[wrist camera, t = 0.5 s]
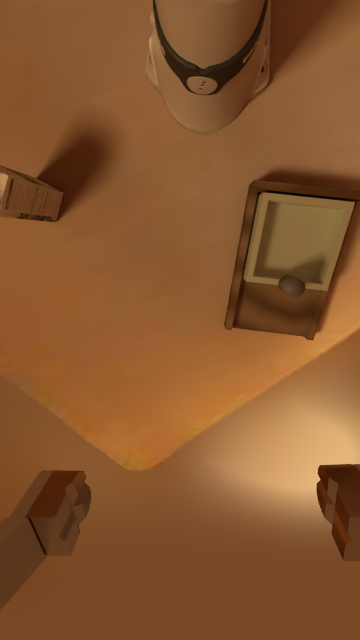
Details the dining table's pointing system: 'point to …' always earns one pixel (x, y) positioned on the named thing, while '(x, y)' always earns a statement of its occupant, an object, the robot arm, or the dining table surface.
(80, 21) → the dining table surface
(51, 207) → the syrup box
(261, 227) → the drawer
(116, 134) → the dining table surface
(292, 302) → the bay
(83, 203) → the dining table surface
